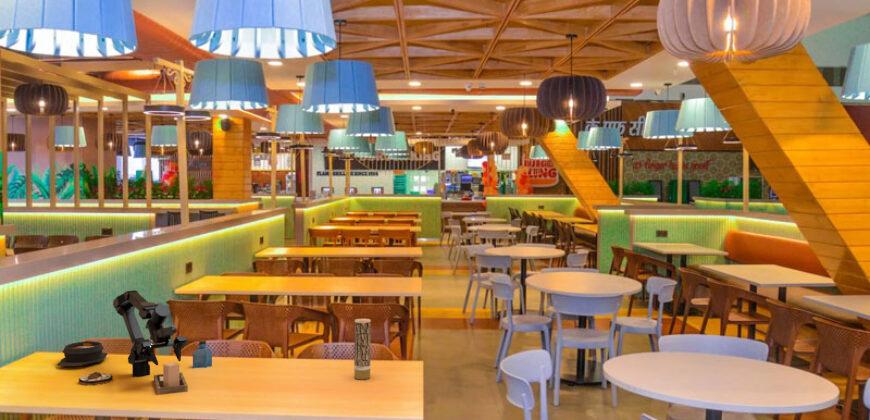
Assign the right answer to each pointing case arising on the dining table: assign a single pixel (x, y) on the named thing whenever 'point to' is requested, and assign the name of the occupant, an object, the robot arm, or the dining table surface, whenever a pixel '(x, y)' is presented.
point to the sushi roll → (95, 378)
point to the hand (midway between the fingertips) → (168, 362)
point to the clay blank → (170, 374)
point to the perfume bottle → (202, 356)
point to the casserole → (82, 354)
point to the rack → (173, 389)
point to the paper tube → (362, 349)
